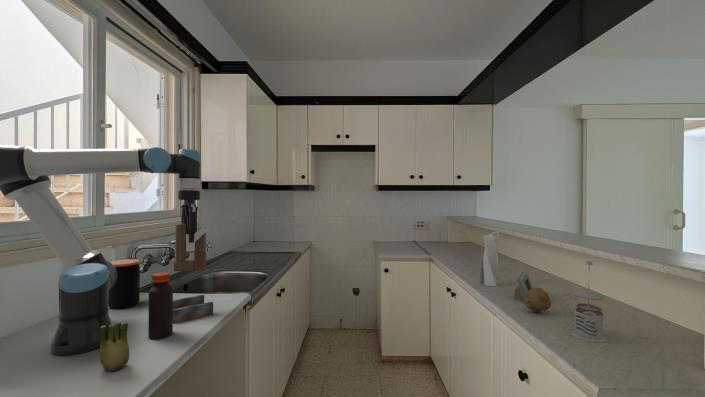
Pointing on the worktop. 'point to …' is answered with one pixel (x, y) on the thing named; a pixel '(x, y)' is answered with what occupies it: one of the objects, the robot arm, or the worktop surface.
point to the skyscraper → (489, 261)
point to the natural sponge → (537, 300)
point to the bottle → (160, 307)
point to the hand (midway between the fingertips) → (188, 250)
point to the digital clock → (522, 287)
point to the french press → (588, 316)
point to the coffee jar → (125, 284)
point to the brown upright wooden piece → (181, 251)
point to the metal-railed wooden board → (191, 308)
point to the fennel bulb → (114, 347)
